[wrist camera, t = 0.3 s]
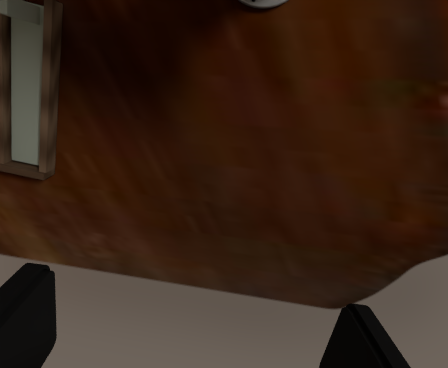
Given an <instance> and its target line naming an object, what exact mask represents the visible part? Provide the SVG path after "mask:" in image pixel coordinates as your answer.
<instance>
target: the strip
mask: <svg viewBox="0 0 448 368" xmlns="http://www.w3.org/2000/svg"><path fill="white" fill-rule="evenodd" d="M0 14H3V15H6V16H9V17H11V120H12V160H15V161H20V162H25V163H29V164H34V165H39V151H40V118H41V85H42V51H43V18H44V6H41V5H37V4H33V3H30V2H26V1H23V0H0Z"/></svg>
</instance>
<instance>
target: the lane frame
mask: <svg viewBox="0 0 448 368" xmlns="http://www.w3.org/2000/svg"><path fill="white" fill-rule="evenodd" d="M62 15H63V4H62V3H60V2H58V1H56V0H44V18H43V51H42V85H41V118H40V151H39V165H34V164H29V163H25V162H20V161H15V160H12V120H11V17H9V16H6V15H3V14H0V171H2V172H7V173H12V174H17V175H21V176H26V177H31V178H35V179H40V180H45V179H47V178H49V177H50V176H52V175H54V174H55V156H56V136H57V116H58V95H59V75H60V55H61V35H62Z"/></svg>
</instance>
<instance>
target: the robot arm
mask: <svg viewBox="0 0 448 368" xmlns="http://www.w3.org/2000/svg"><path fill="white" fill-rule="evenodd" d="M238 1H240V2H241V3H243V4H245V5H247V6H250V7H253V8H260V9H266V8H273V7H276V6H279V5H282V4H283V3H285V2H287V1H289V0H255V2H252V1H251V0H238ZM55 302H56V300H55V273H54V272H53V271H50V268H49V266H47V265H41V264H33V263H26V264H25V265H23V266H22V267H21V268H20V269H19V270H18V271H17V272H16V273H15V274H14V275H13V276H12V277H11V278H10V279H9V280H8V281H6V282H5V283H4V284H3V285H2V286H1V287H0V368H41V367H42V365H43V363H44V362H45V360H46V358H47V356H48V355H49V354H50V352H51V350H52V349H53V347H54V344H55V341H56V303H55ZM319 368H411V367H410V366H409V365H408V363H407V362H406V360H405V359H404V357H403V356H402V354H401V353H400V351H399V350H398V348H397V347H396V345H395V344H394V342H393V341H392V340H391V338H390V337H389V335H388V334H387V332H386V331H385V329H384V328H383V326H382V325H381V323H380V322H379V320H378V319H377V318H376V316H375V315H374V313H373V312H372V310H371V309H370V308H369V307H368V306H366V305H359V304H348V305H347V306H346V307H344V308H342V310H341V313H340V315H339V317H338V320H337V322H336V325H335V327H334V330H333V332H332V335H331V337H330V340H329V342H328V345H327V347H326V350H325V353H324V355H323V357H322V360H321V362H320V366H319Z"/></svg>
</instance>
